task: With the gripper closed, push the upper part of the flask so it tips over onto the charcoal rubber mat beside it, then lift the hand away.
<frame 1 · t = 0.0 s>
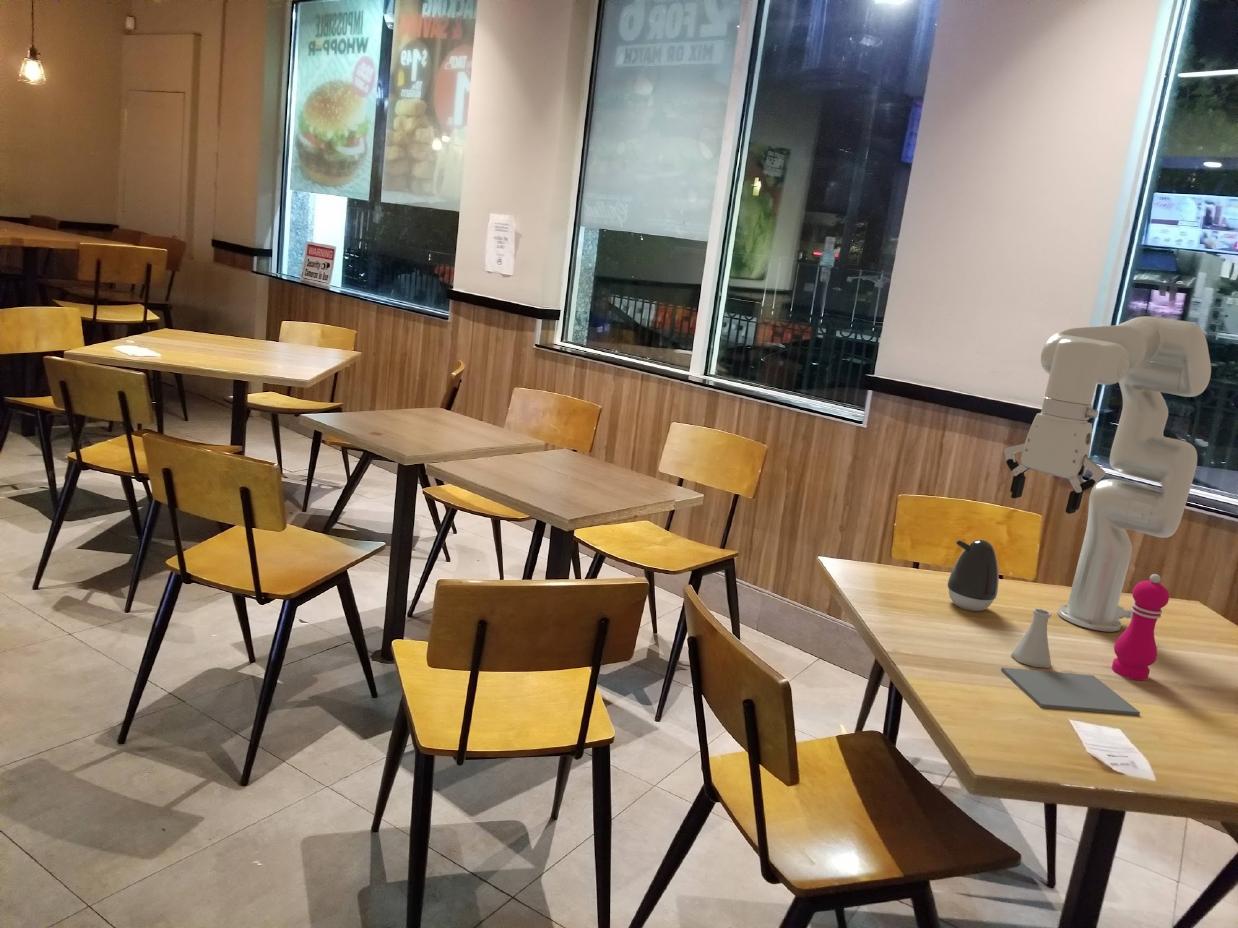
hand: (1042, 504, 170), 31 cm above the table, tool pointing down, fingers open, 9 cm apart
pepper mill: (1129, 673, 182), on the table
pump dispenser: (967, 607, 207), on the table
flask: (1030, 661, 181), on the table
rubber mat: (1067, 691, 169), on the table
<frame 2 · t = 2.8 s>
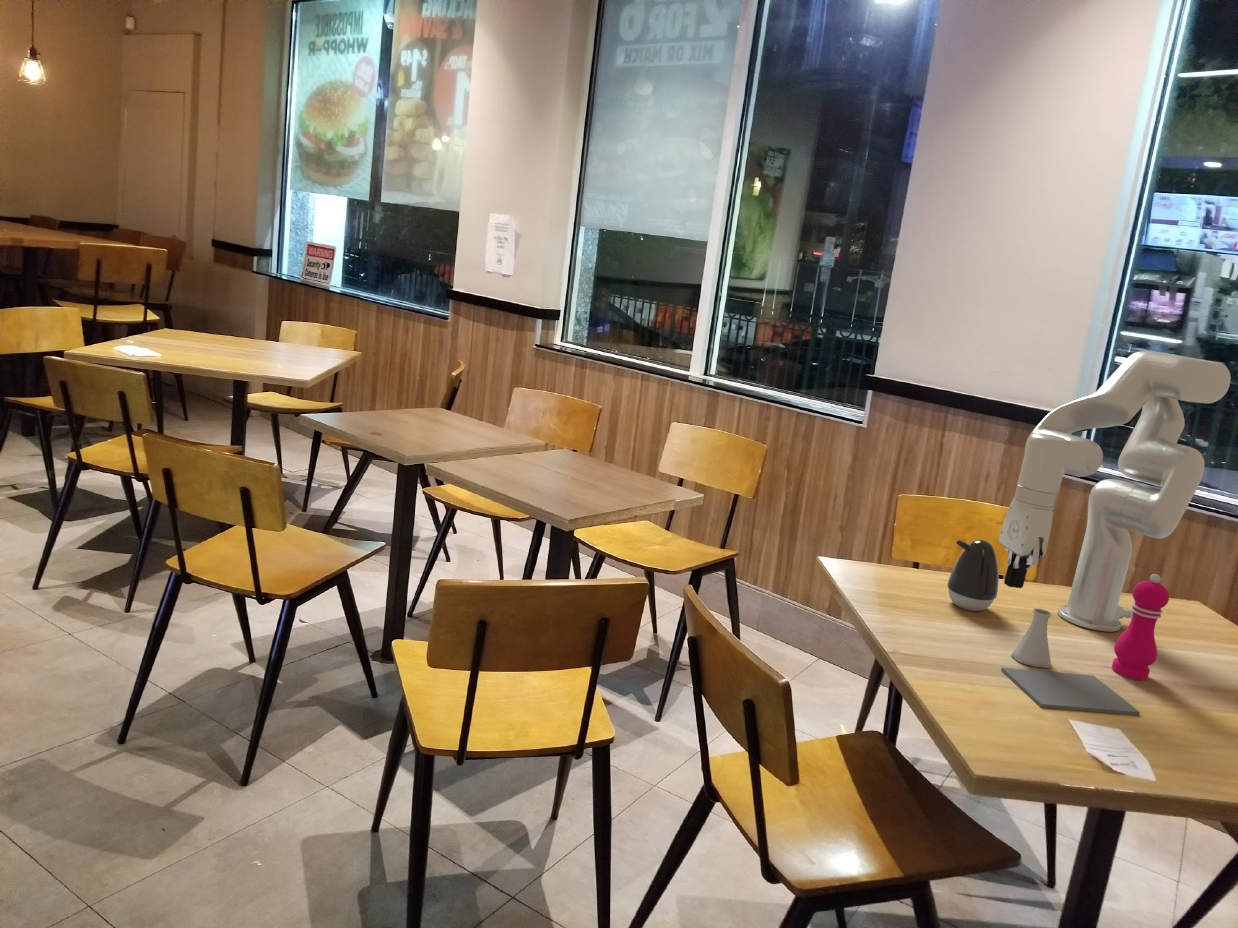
hand: (1013, 585, 189), 11 cm above the table, tool pointing down, fingers closed
nothing on the table moved.
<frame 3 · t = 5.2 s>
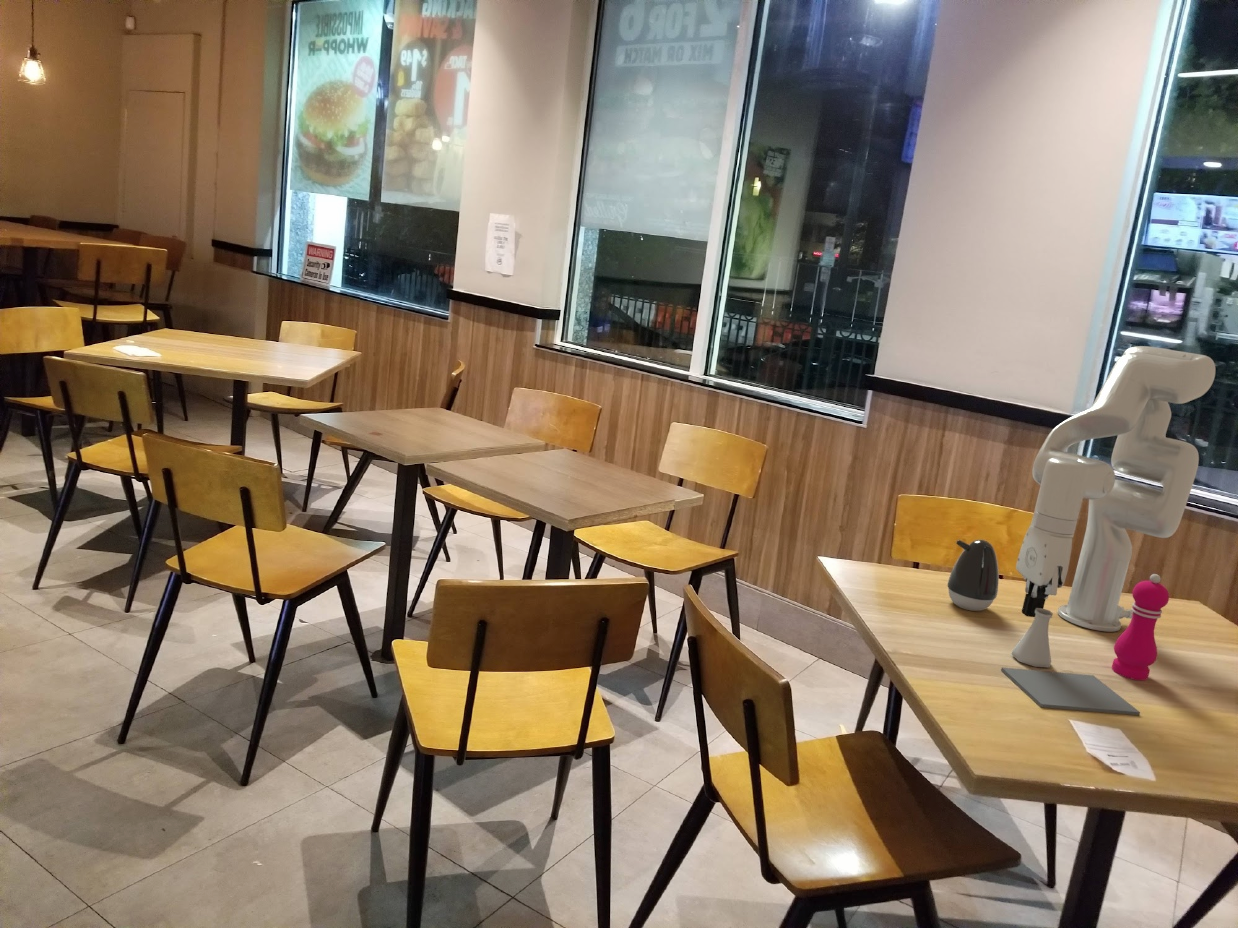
hand: (1031, 615, 182), 8 cm above the table, tool pointing down, fingers closed
flask: (1030, 660, 181), on the table, touching gripper
everything else where it was.
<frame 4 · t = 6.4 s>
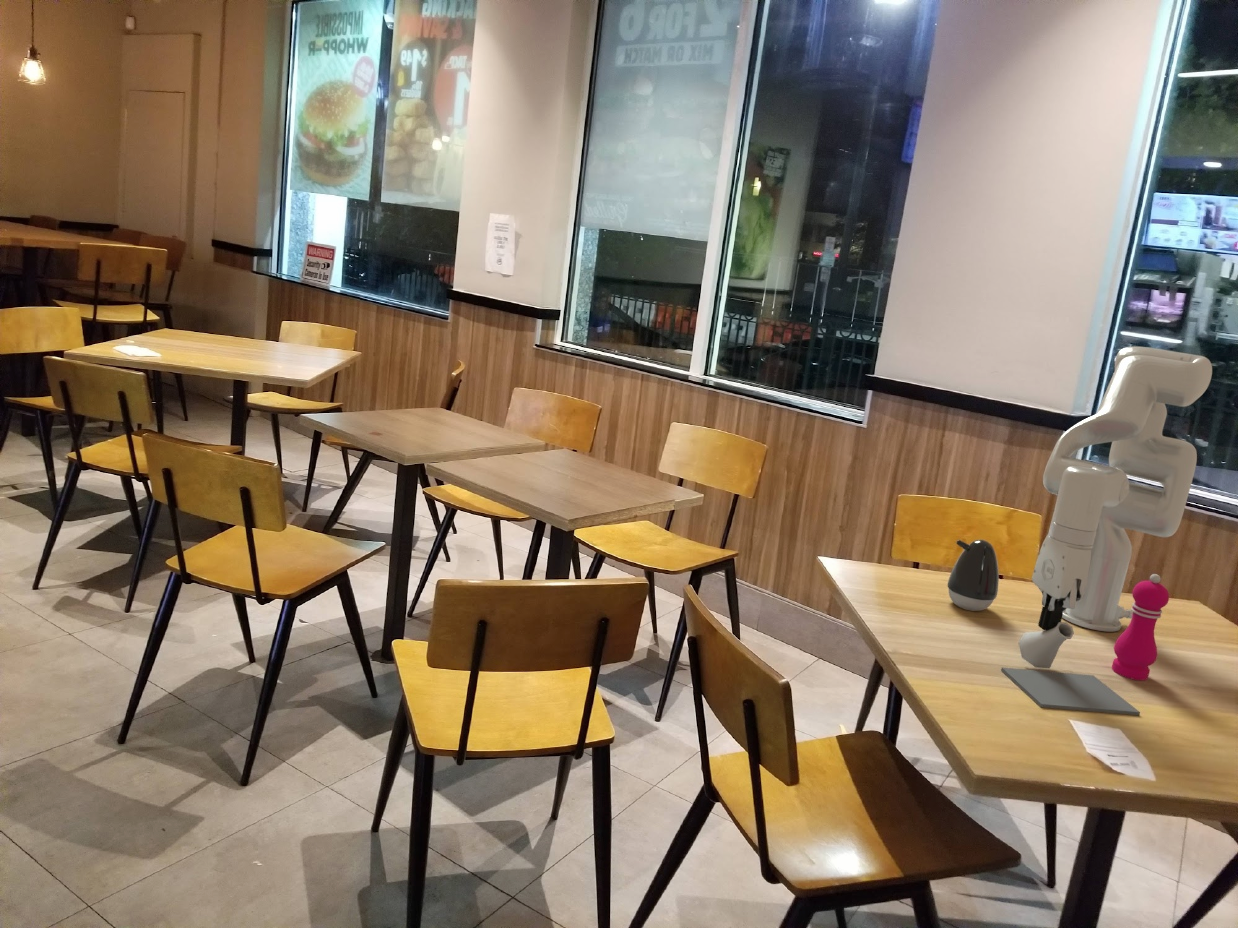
hand: (1048, 628, 176), 8 cm above the table, tool pointing down, fingers closed
flask: (1035, 651, 180), point 2 cm above the table
everything else where it was.
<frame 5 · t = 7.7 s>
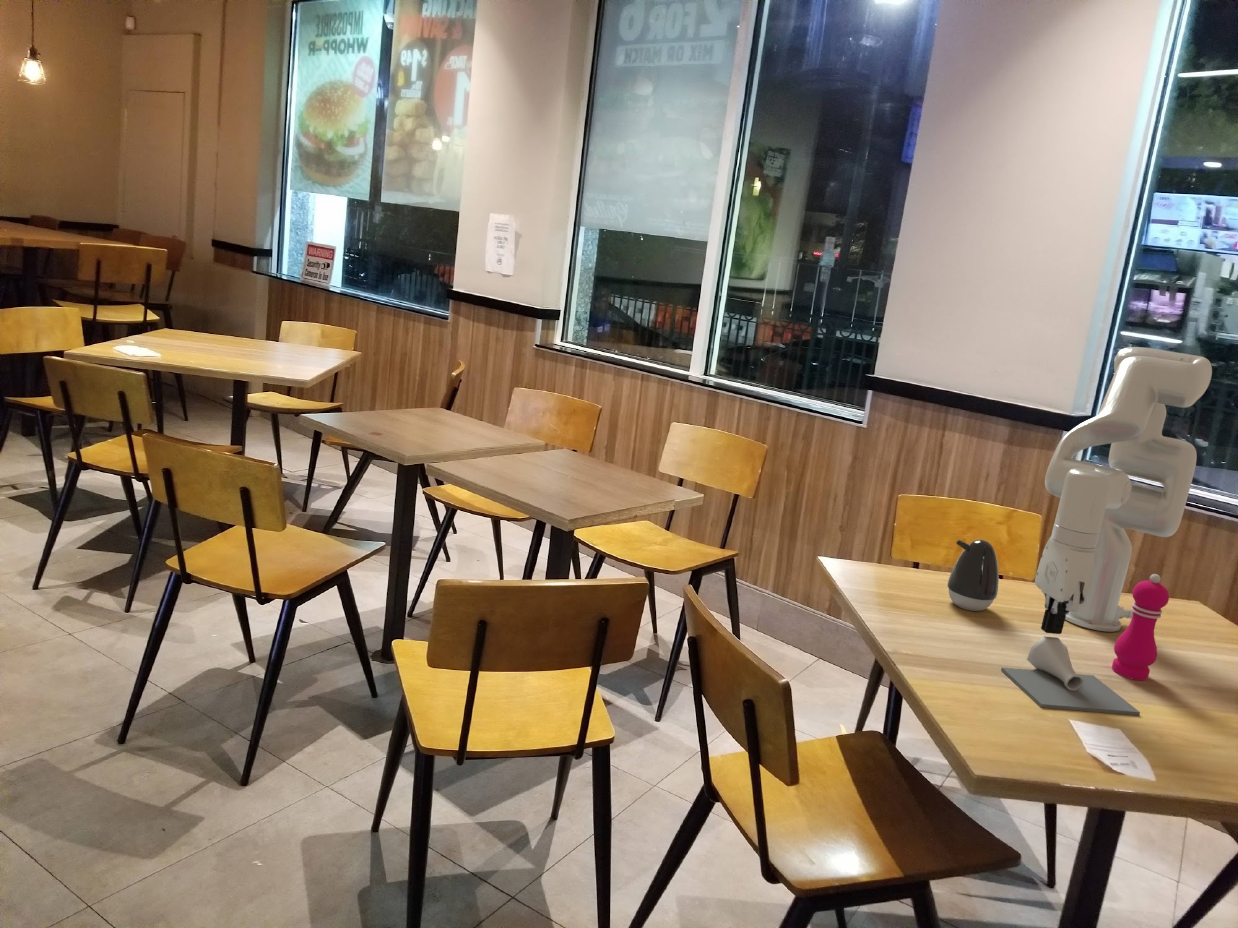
hand: (1050, 631, 176), 8 cm above the table, tool pointing down, fingers closed
flask: (1045, 651, 177), point 3 cm above the table, touching rubber mat
everything else where it was.
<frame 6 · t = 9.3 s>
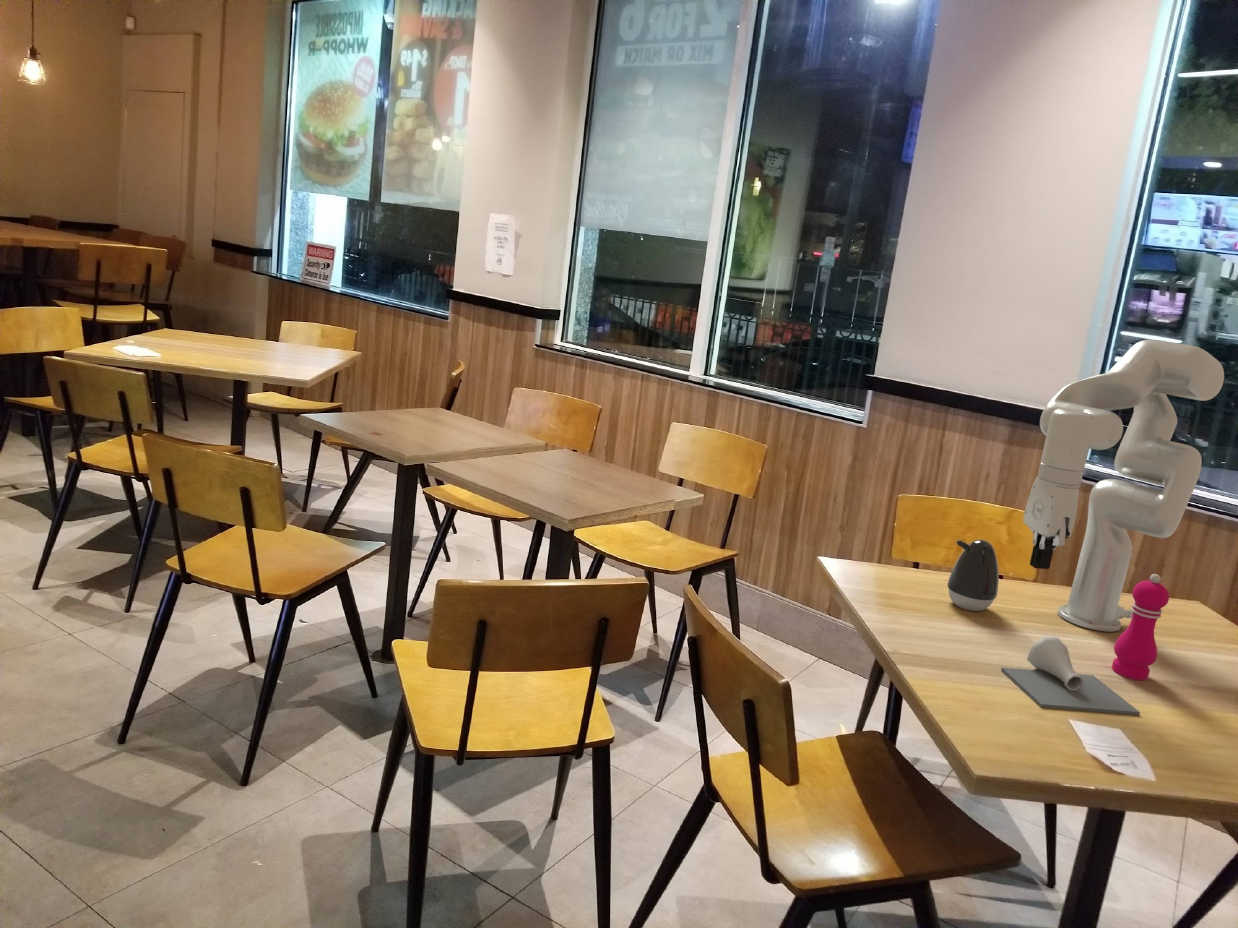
hand: (1039, 566, 183), 17 cm above the table, tool pointing down, fingers closed
nothing on the table moved.
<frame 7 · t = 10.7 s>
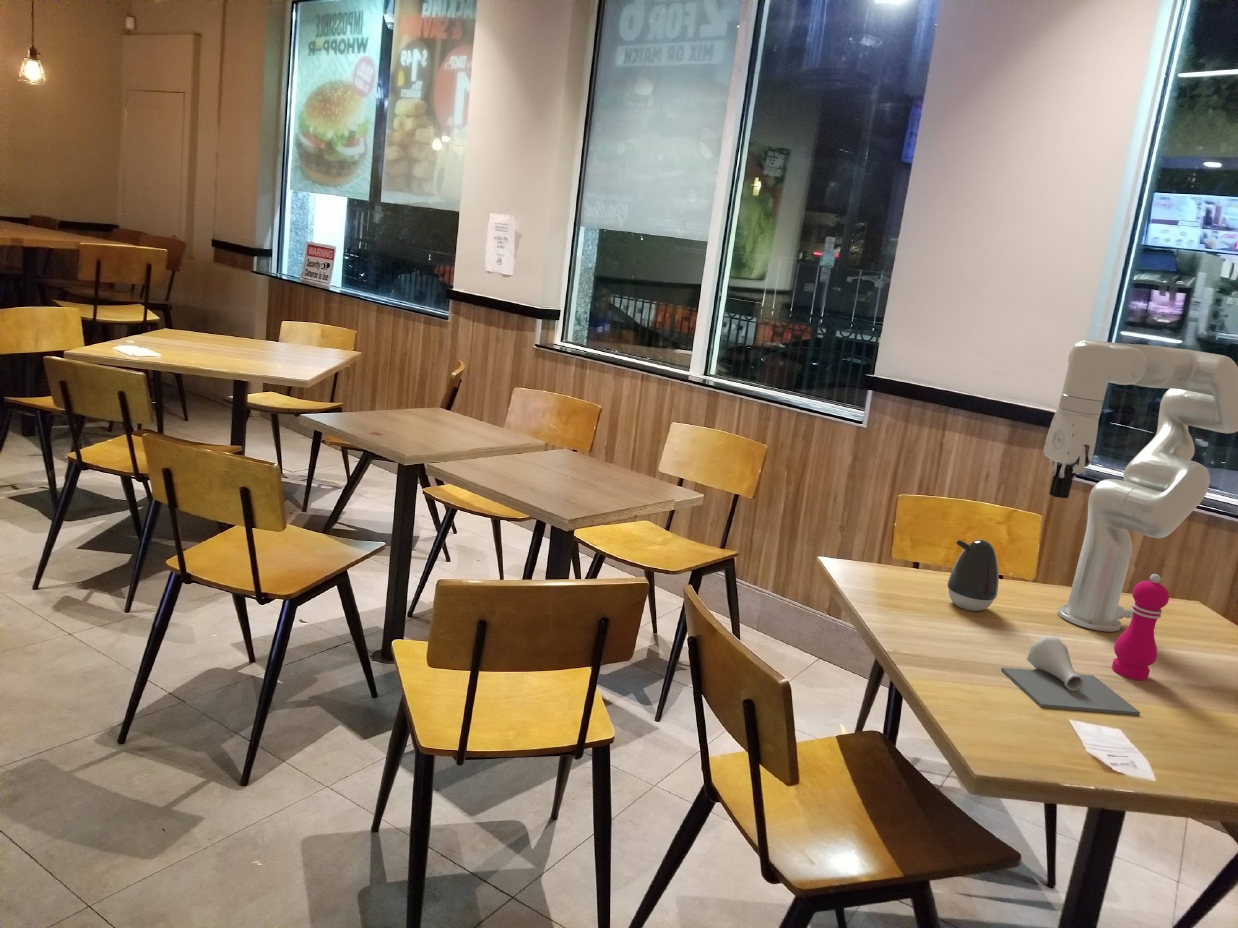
hand: (1058, 496, 190), 29 cm above the table, tool pointing down, fingers closed
nothing on the table moved.
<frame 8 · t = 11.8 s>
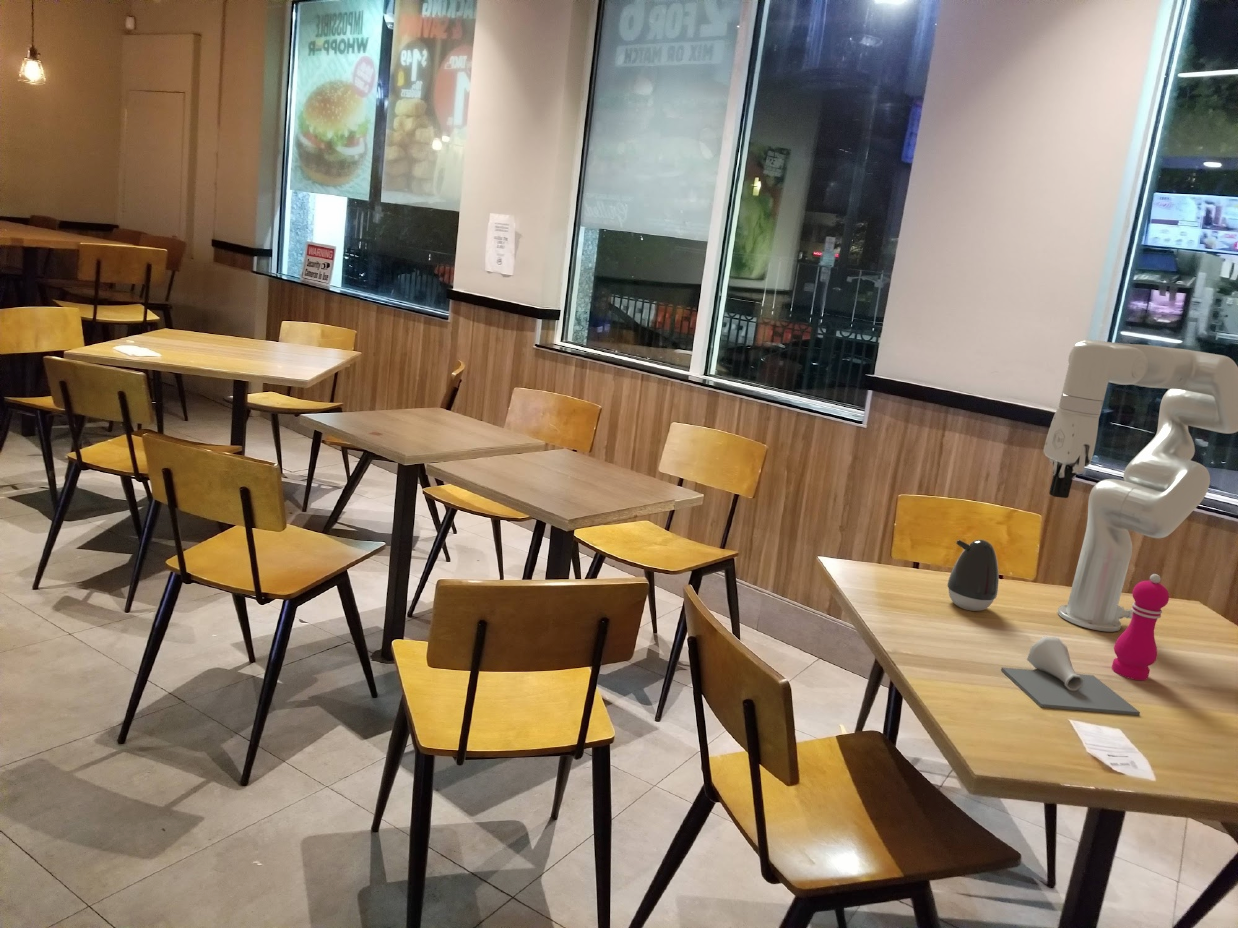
hand: (1058, 496, 190), 29 cm above the table, tool pointing down, fingers closed
nothing on the table moved.
at the end: flask tilted 98°; flask touching rubber mat, table; flask inside the target area (3.7 cm from its centre), point 3.5 cm above the table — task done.
